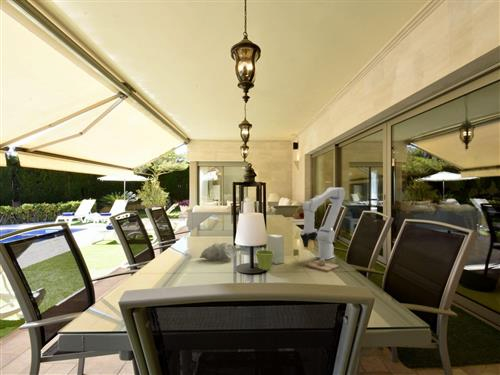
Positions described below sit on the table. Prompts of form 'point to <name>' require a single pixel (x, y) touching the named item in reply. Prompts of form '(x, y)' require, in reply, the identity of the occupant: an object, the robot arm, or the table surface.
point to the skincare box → (276, 248)
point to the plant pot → (264, 259)
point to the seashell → (219, 252)
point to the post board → (322, 265)
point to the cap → (309, 245)
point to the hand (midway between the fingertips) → (308, 246)
